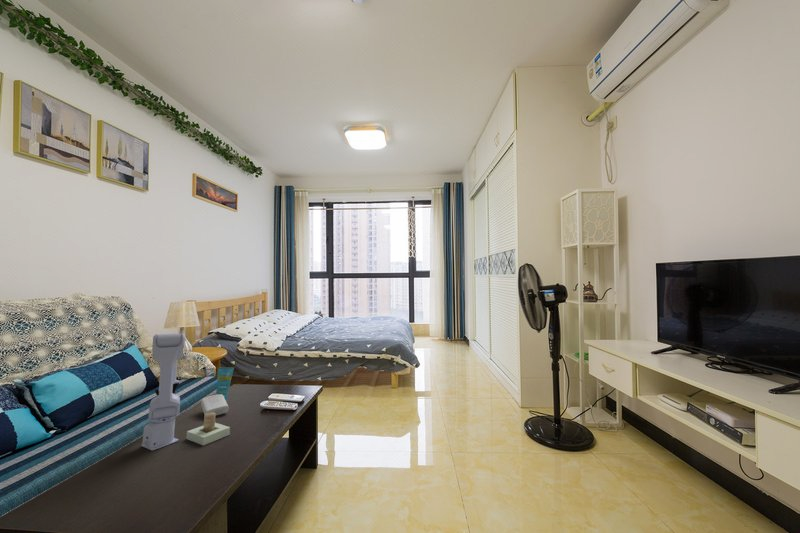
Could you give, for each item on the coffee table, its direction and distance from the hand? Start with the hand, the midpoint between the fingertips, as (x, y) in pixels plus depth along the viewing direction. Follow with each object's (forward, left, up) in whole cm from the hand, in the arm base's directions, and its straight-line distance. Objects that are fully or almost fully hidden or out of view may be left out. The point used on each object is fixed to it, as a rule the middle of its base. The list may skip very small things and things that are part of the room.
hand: (166, 403), depth 142 cm
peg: (+4, -24, -10) cm, 26 cm away
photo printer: (+19, -7, -8) cm, 22 cm away
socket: (+4, -24, -10) cm, 26 cm away
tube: (+28, +4, -10) cm, 30 cm away
